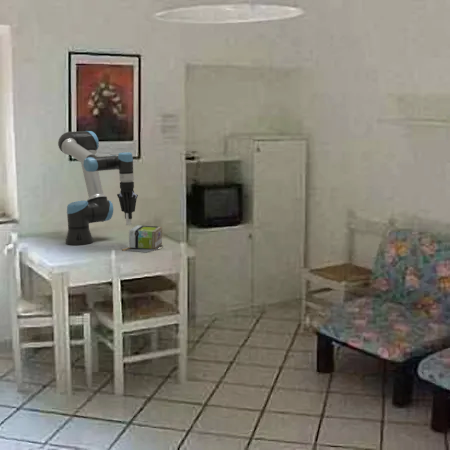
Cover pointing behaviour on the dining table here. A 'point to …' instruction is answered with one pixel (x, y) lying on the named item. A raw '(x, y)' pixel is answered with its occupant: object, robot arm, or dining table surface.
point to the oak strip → (126, 249)
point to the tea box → (145, 237)
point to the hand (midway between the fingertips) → (128, 224)
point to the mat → (141, 250)
